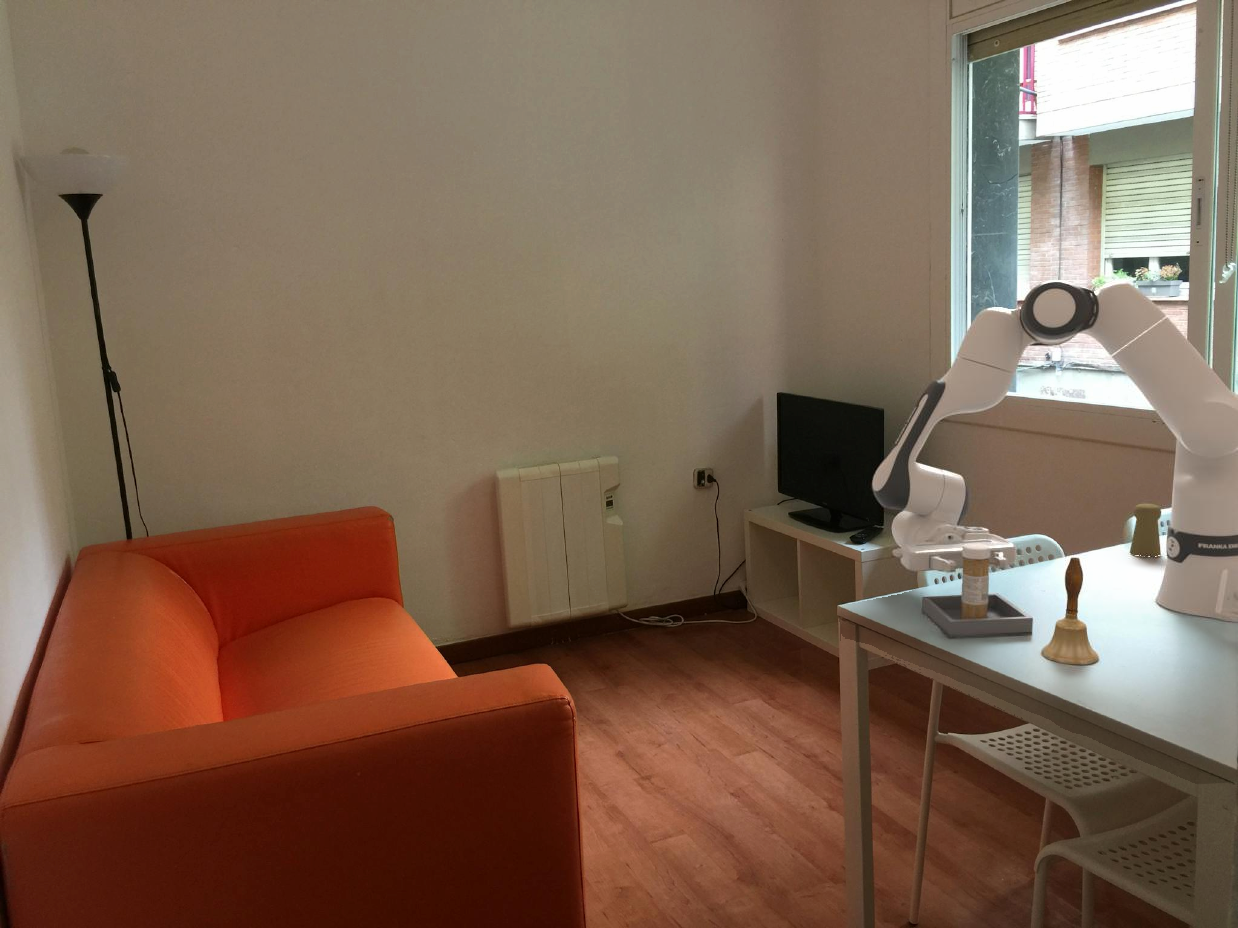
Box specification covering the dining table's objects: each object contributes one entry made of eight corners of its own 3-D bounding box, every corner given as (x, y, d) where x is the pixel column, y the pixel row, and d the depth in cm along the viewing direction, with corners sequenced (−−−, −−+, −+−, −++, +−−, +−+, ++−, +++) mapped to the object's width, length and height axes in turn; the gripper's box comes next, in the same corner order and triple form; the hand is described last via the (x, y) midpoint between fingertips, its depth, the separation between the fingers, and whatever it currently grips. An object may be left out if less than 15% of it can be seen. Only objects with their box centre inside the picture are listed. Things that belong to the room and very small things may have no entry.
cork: (1166, 557, 209) (1169, 506, 207) (1138, 558, 209) (1140, 507, 207) (1152, 550, 215) (1154, 501, 213) (1124, 550, 215) (1126, 501, 213)
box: (997, 609, 179) (998, 593, 178) (1032, 634, 165) (1032, 617, 164) (921, 612, 178) (922, 596, 178) (950, 638, 164) (950, 621, 164)
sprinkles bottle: (974, 614, 175) (976, 540, 172) (993, 621, 170) (996, 546, 168) (954, 618, 173) (956, 544, 171) (973, 625, 169) (975, 550, 166)
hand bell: (1045, 643, 161) (1049, 549, 158) (1101, 651, 157) (1106, 554, 154) (1037, 660, 154) (1041, 562, 151) (1096, 668, 150) (1101, 568, 147)
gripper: (889, 533, 181) (920, 552, 168) (993, 527, 183) (1033, 544, 170) (888, 566, 182) (920, 587, 169) (992, 559, 185) (1031, 579, 171)
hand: (977, 566), depth 169 cm, fingers open, 8 cm apart
